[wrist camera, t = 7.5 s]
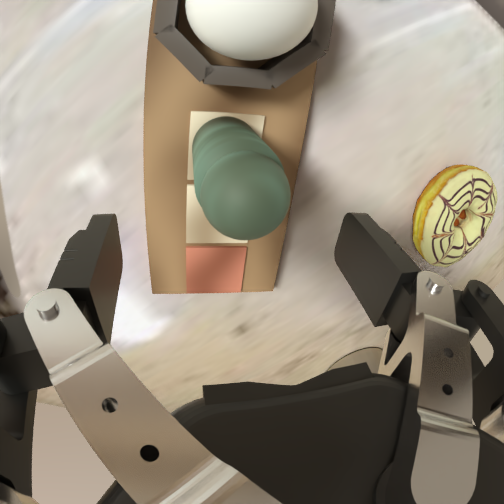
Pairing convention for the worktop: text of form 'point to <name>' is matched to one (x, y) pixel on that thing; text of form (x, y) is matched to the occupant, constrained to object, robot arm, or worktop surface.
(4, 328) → the robot arm
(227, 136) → the pawn
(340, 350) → the worktop surface
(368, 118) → the worktop surface
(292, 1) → the white ball
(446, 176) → the decorated donut
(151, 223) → the game board
